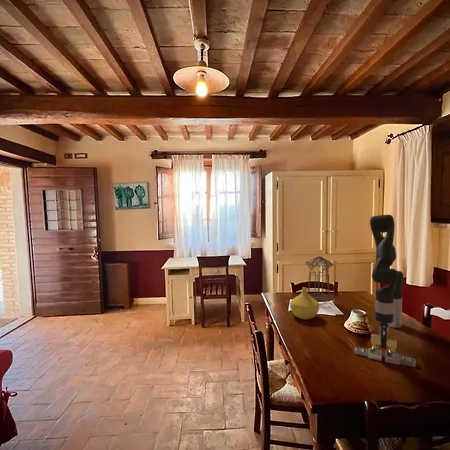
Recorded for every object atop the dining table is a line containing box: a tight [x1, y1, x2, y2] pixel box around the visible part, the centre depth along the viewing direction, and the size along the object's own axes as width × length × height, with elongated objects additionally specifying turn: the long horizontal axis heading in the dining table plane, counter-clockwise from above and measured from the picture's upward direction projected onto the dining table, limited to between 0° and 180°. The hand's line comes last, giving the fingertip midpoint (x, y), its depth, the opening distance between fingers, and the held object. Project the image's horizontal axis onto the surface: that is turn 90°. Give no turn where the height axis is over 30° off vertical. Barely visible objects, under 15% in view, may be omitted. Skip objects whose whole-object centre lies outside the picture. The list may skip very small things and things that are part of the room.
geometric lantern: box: [305, 255, 334, 306], centre depth 212 cm, size 16×16×35 cm
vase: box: [289, 286, 320, 320], centre depth 185 cm, size 18×18×19 cm
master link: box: [370, 333, 398, 354], centre depth 133 cm, size 3×10×6 cm, turn 61°
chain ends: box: [353, 346, 417, 368], centre depth 133 cm, size 6×25×3 cm, turn 61°
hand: (383, 346), depth 133 cm, fingers closed on master link, 3 cm apart
